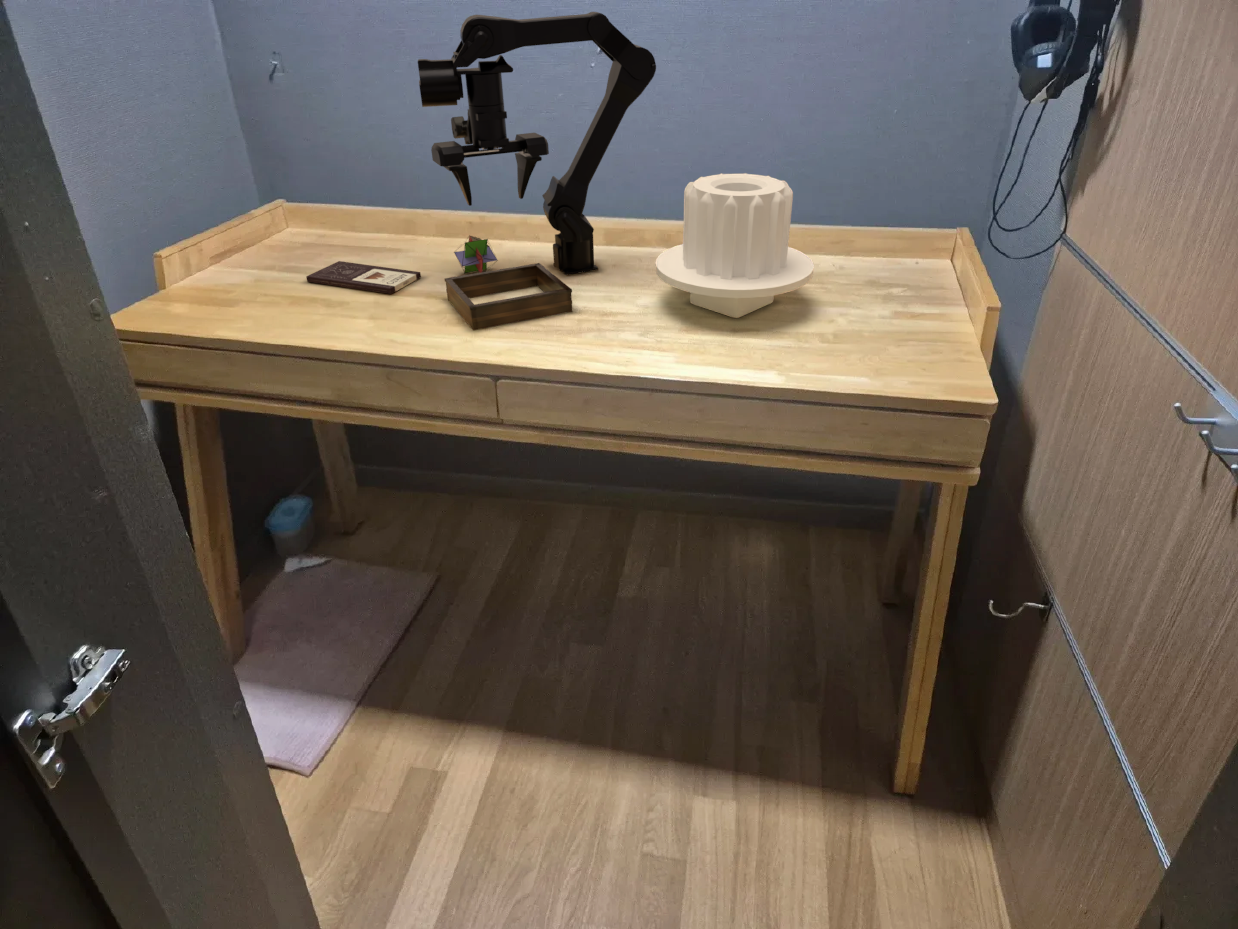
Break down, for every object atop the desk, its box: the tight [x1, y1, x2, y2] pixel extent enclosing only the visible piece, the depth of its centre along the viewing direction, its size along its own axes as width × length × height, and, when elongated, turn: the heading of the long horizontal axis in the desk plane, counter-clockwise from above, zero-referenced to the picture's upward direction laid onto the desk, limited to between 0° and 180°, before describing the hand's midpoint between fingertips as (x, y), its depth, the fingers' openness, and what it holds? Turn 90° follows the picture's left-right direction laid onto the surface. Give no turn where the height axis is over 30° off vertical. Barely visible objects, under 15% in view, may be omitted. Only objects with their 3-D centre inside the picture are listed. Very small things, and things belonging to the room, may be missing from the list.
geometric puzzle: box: [453, 235, 499, 275], centre depth 146 cm, size 7×7×8 cm
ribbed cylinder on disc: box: [655, 172, 815, 319], centre depth 128 cm, size 25×25×19 cm
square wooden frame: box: [444, 262, 573, 331], centre depth 133 cm, size 17×15×4 cm
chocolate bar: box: [305, 260, 422, 295], centre depth 145 cm, size 9×1×18 cm
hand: (495, 201), depth 140 cm, fingers open, 9 cm apart
